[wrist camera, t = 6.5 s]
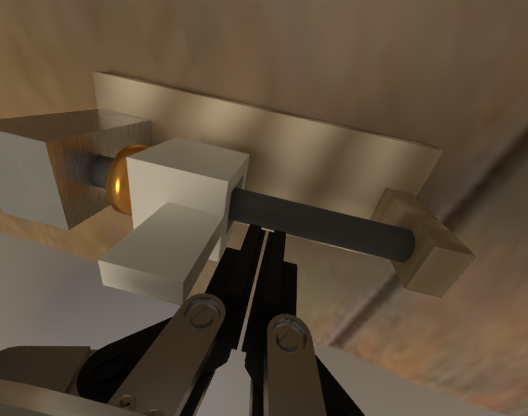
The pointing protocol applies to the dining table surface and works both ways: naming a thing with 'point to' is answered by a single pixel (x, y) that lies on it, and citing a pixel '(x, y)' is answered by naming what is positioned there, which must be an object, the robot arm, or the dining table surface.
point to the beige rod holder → (309, 166)
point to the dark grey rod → (304, 221)
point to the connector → (67, 164)
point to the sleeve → (175, 217)
